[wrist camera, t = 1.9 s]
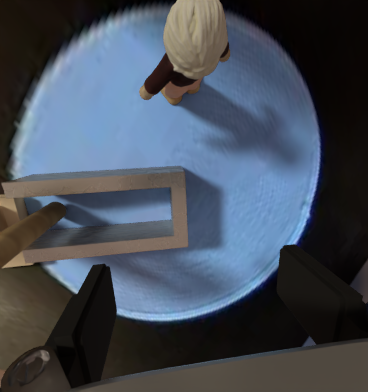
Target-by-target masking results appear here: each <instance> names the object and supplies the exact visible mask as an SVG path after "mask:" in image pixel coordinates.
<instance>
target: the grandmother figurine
mask: <svg viewBox="0 0 368 392" xmlns="http://www.w3.org/2000/svg"><path fill="white" fill-rule="evenodd" d="M163 40H164V45H165V49H166V53H165V55H164V56H163V58H162V60H161V61H160V63H159V64H158V66H157V67H156V68H155V70H154V71H153V72H152V74H151V75H150V76H149V77H148V78H147V79H146V80H145V83H144V85H143V86H142V87H141V88H140V91H139V93H140V96H141V97H142V98H143V99H144V100H149V99H151V98H152V96H154V95H156V94H157V93H159V92H160V91H161V93H162V94H163V96H164V97H165V98H166V99H167V101H168V102H169V103H170V104H172V105H176V104H178V103H179V102H180V101H181V100H182V95H183V94H184V93H185V92H187V93H189V94H194V93H196V92H198V91H199V88H200V82H201V80H202V78H203V77H204V76H207V75H209V74H210V73H212V72H213V71H214V70H215V68H216V66H217V64H218V62H219V61H221V62H225V61H227V60H228V59H229V57H230V49H229V43H228V35H227V29H226V18H225V14H224V10H223V7H222V4H221V3H220V1H219V0H177V1H176V3H175V4H174V5H173V6H172V8H171V10H170V13H169V14H168V17H167V22H166V25H165V29H164V34H163Z"/></svg>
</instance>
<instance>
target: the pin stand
mask: <svg viewBox="0 0 368 392" xmlns="http://www.w3.org/2000/svg"><path fill="white" fill-rule="evenodd" d="M65 215H66V208H65V206H64V205H63V204H61V203H59V202H52V203H50V204H48V205H46V206H45V207H43V208H41V209H40V210H38V211H36V212H35V213H33V214H31V215H30V216H28V212H27V208H26V205H25V201H24V197H23V198H8V199H6V196H5V195H0V269H1V268H6V267H16V266H25V265H33V264H34V263H25V259H24V256H23V253H22V251H23V250H24V249H25V248H26V247H28V246H29V245H30V244H31V243H32V242H34V241H35V240H36V239H37V238H39V237H40V236H41V235H42V234H43V233H45V232H46V231H47V230H48V229H50V228H51V227H52V226H53V225H54V224H56V223H57V222H58V221H59V220H60V219H62V218H63V217H64V216H65Z"/></svg>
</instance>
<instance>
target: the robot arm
mask: <svg viewBox="0 0 368 392" xmlns="http://www.w3.org/2000/svg"><path fill="white" fill-rule="evenodd" d="M277 293H278V295H279V296H280V298H281V299H282V300H283V302H284V303H285V304H286V306H287V307H288V308H289V309H290V311H291V312H292V313H293V315H294V316H295V317H296V319H297V320H298V321H299V322H300V324H301V325H302V326H303V328H304V329H305V330H306V332H307V333H308V334H309V335H310V337H311V338H312V339H313V341H314V342H315V343H316V345H312V346H306V347H299V348H292V349H286V350H279V351H273V352H266V353H260V354H253V355H247V356H241V357H234V358H228V359H222V360H215V361H209V362H203V363H197V364H191V365H185V366H179V367H173V368H166V369H160V370H154V371H148V372H143V373H138V374H132V375H127V376H121V377H116V378H110V379H106V380H102V381H100V380H101V376H102V372H103V368H104V364H105V360H106V356H107V351H108V347H109V343H110V339H111V335H112V331H113V327H114V323H115V319H116V314H117V309H116V302H115V296H114V290H113V284H112V278H111V271H110V267H109V266H107V267H106V265H105V264H98V265H93V266H92V268H91V270H90V271H89V273H88V275H87V277H86V279H85V281H84V283H83V285H82V286H81V288H80V290H79V292H78V294H75V295H73V296H72V297H71V299H70V301H69V303H68V304H67V306H66V308H65V310H64V311H63V313H62V315H61V317H60V319H59V320H58V322H57V324H56V326H55V327H54V329H53V331H52V333H51V334H50V336H49V338H48V340H47V342H46V343H45V345H44V346H39V347H36V348H33V349H31V350H29V351H27V352H25V353H24V354H22V355H21V356H20V357H18V358H17V359H16V360H15V361H14V362H13V363H12V364H11V365H10V366H9V367H8V369H7V370H6V371H5V373H4V376H3V378H2V380H1V388H0V392H368V302H367V303H366V304H365V303H364V302H363V301H362V298H363V296H362V295H361V294H360V293H358V292H357V291H356V290H354V289H353V288H352V287H350V286H349V285H348V284H346V283H345V282H344V281H343V280H341V279H340V278H339V277H337V276H336V275H335V274H333V273H332V272H331V271H329V270H328V269H327V268H326V267H324V266H323V265H322V264H320V263H319V262H318V261H316V260H315V259H314V258H312V257H311V256H310V255H308V254H307V253H306V252H305V251H303V250H302V249H301V248H299V247H298V246H297V245H295V244H293V245H284V246H283V248H282V249H281V250H280V258H279V269H278V279H277Z"/></svg>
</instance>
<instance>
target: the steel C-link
mask: <svg viewBox="0 0 368 392" xmlns="http://www.w3.org/2000/svg"><path fill="white" fill-rule="evenodd" d="M2 186H3V189H4V193H5V196H6V199H8V198H23V197H37V196H51V195H65V194H79V193H94V192H108V191H122V190H136V189H151V188H165V187H169V188H170V203H171V219H172V220H160V221H149V222H137V223H126V224H114V225H103V226H91V227H80V228H68V229H57V230H47V231H46V232H45V233H43V234H42V235H41V236H40V237H39V238H37V239H36V240H35V241H34V242H32V243H31V244H30V245H29V246H28V247H26V248H25V249H24V250H23V251H22V253H23V256H24V259H25V263H35V262H45V261H54V260H64V259H74V258H84V257H94V256H103V255H113V254H123V253H133V252H143V251H153V250H162V249H172V248H182V247H188V230H187V207H186V183H185V171H184V170H183V169H182V167H181V166H166V167H149V168H133V169H116V170H99V171H82V172H65V173H49V174H32V175H29V176H25V177H22V178H18V179H15V180H11V181H8V182H4V183H2Z"/></svg>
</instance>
